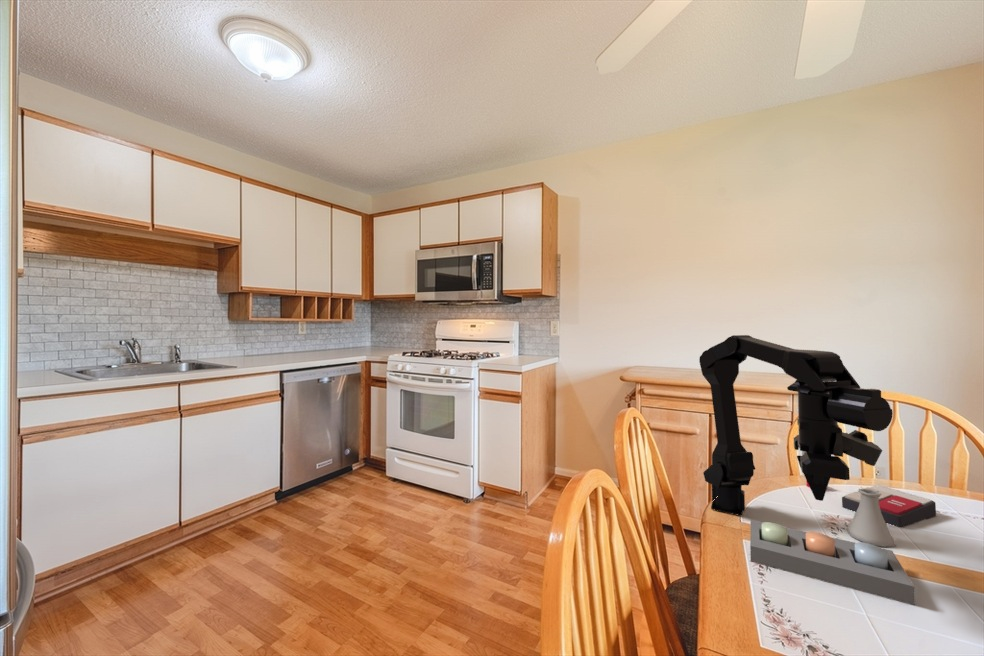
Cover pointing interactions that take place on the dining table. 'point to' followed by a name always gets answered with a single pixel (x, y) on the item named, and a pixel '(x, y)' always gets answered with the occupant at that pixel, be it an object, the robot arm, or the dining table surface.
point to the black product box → (895, 506)
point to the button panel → (832, 565)
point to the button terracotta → (820, 544)
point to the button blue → (871, 555)
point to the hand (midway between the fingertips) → (818, 499)
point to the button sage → (774, 533)
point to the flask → (870, 521)
